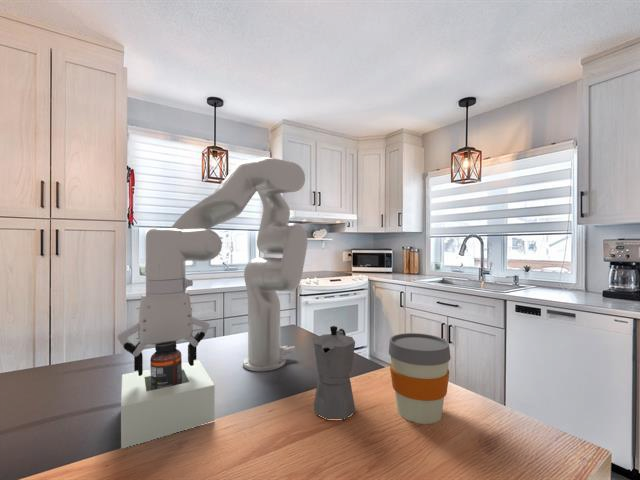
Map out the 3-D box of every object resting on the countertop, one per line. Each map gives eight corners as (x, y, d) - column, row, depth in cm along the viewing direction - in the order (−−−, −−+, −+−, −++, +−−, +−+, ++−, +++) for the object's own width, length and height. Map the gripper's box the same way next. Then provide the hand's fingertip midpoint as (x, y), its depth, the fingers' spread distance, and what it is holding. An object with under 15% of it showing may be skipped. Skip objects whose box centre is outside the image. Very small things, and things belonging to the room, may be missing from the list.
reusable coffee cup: (377, 404, 71) (377, 336, 71) (422, 393, 76) (421, 330, 76) (415, 435, 59) (414, 355, 60) (465, 420, 64) (464, 346, 64)
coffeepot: (349, 430, 61) (348, 336, 61) (303, 422, 64) (302, 332, 64) (362, 394, 76) (362, 318, 76) (325, 388, 79) (324, 315, 79)
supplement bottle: (179, 387, 71) (179, 336, 71) (184, 398, 66) (184, 343, 66) (149, 394, 68) (149, 341, 68) (152, 406, 63) (151, 348, 63)
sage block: (199, 390, 78) (199, 360, 78) (214, 422, 64) (214, 384, 64) (122, 408, 70) (122, 374, 70) (121, 449, 56) (121, 406, 56)
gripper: (205, 282, 75) (205, 355, 75) (118, 288, 66) (118, 371, 66) (212, 286, 68) (212, 365, 68) (117, 293, 59) (117, 385, 59)
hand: (166, 368), depth 67 cm, fingers open, 9 cm apart
